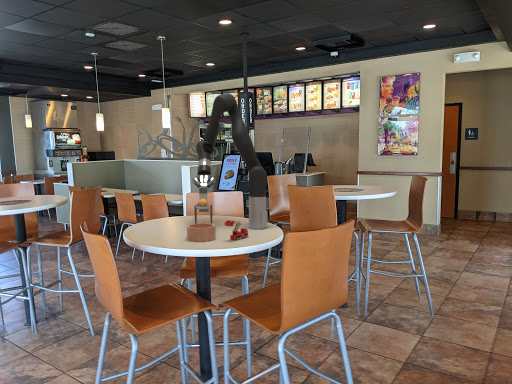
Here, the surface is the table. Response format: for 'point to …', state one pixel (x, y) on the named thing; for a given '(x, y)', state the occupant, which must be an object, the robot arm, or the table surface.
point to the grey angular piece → (202, 196)
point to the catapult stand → (210, 214)
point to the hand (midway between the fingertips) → (203, 192)
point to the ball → (202, 202)
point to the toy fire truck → (235, 232)
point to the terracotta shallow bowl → (201, 232)
